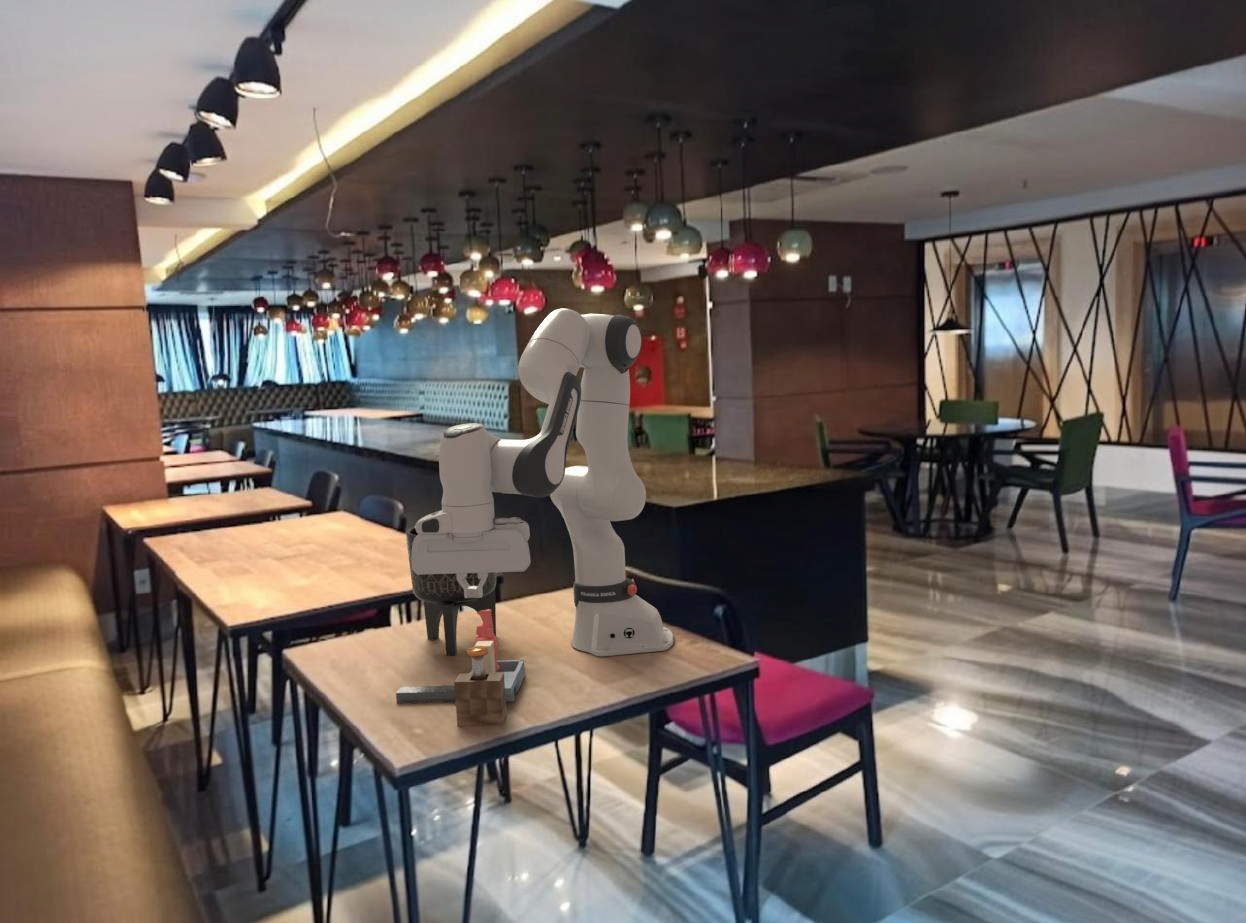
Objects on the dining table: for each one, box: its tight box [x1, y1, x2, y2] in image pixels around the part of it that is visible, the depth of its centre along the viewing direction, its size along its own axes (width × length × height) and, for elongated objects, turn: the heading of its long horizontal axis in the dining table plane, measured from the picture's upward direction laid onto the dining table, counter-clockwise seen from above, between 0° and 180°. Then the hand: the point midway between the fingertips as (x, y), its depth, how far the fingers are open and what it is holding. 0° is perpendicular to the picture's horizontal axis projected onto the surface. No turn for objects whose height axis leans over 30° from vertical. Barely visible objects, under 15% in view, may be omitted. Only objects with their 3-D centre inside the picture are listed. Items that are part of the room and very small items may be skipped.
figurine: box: [473, 609, 500, 672], centre depth 176 cm, size 5×5×15 cm
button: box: [466, 645, 488, 681], centre depth 158 cm, size 4×4×7 cm
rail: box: [395, 685, 516, 704], centre depth 170 cm, size 22×3×2 cm, turn 88°
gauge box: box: [453, 672, 507, 727], centre depth 159 cm, size 8×4×8 cm, turn 88°
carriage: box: [467, 641, 526, 702], centre depth 172 cm, size 10×16×11 cm, turn 178°
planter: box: [405, 525, 497, 656], centre depth 201 cm, size 20×20×26 cm
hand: (473, 597), depth 156 cm, fingers closed
